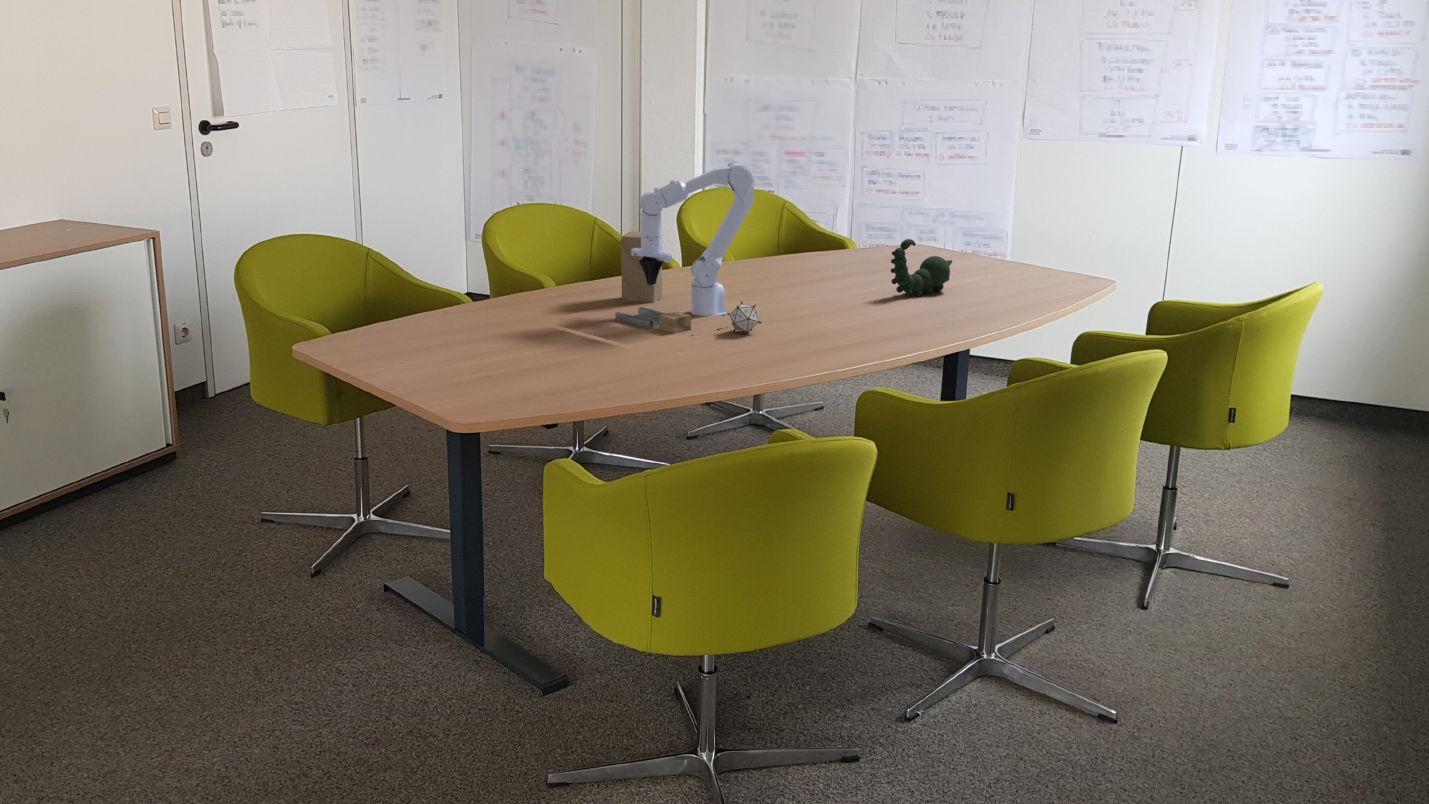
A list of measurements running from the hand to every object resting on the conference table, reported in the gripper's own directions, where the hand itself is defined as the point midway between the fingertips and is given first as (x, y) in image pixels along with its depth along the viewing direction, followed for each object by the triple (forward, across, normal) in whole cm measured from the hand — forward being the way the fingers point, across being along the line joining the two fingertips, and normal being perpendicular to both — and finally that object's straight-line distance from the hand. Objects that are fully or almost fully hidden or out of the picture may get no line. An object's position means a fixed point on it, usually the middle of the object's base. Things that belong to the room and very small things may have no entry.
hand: (651, 284), depth 337 cm
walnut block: (+9, +17, -8) cm, 21 cm away
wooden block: (+10, -17, +12) cm, 23 cm away
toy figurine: (+10, +35, +82) cm, 90 cm away
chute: (+9, +9, -7) cm, 15 cm away
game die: (+10, +30, +6) cm, 32 cm away
